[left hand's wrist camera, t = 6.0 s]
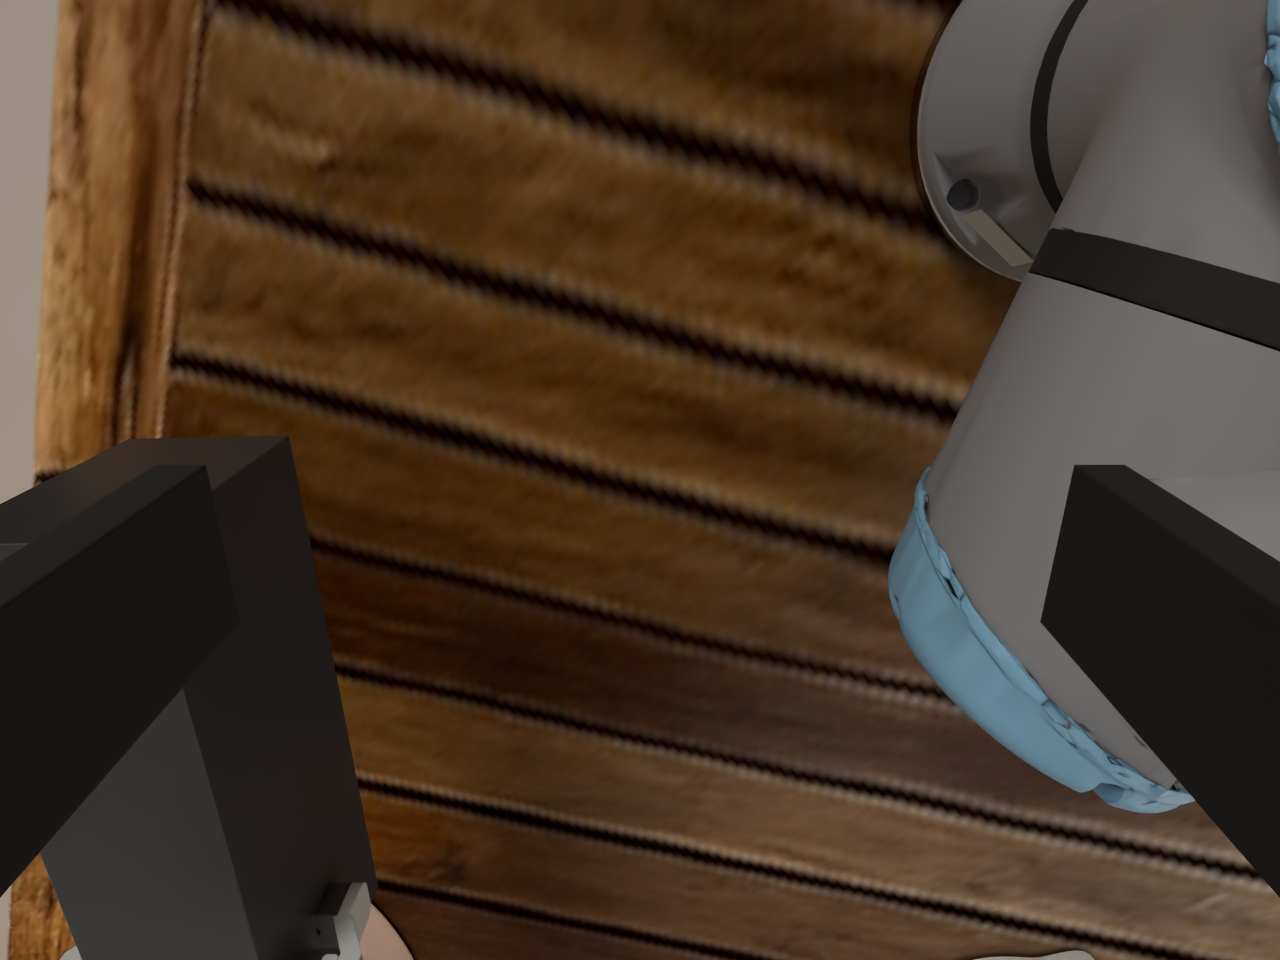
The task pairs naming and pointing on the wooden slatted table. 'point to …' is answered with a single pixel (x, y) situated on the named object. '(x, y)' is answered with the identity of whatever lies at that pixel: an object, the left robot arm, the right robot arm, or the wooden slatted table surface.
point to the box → (217, 742)
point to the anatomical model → (381, 940)
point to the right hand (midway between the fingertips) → (263, 893)
